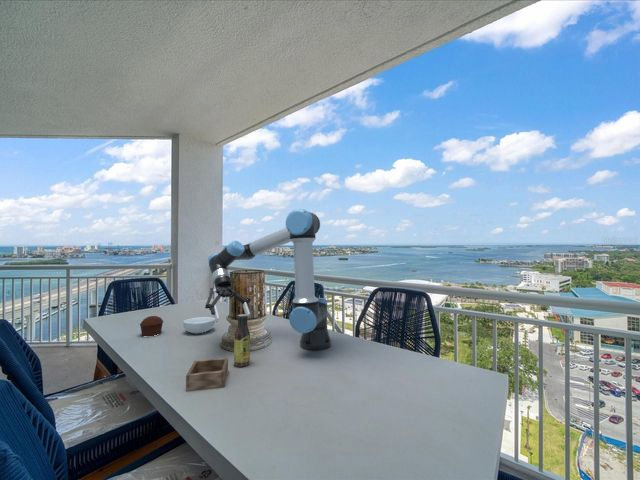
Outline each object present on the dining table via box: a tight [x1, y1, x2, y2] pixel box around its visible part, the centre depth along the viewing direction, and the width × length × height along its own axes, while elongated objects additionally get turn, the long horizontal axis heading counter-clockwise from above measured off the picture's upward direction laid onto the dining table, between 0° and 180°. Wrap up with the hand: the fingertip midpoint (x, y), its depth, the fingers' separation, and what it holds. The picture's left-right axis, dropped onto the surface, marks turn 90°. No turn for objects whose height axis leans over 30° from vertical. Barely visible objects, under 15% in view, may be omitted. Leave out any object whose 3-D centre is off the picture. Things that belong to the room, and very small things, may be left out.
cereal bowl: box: [182, 316, 216, 335], centre depth 162 cm, size 17×17×7 cm
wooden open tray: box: [185, 357, 229, 392], centre depth 101 cm, size 12×13×5 cm
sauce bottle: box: [233, 313, 251, 368], centre depth 115 cm, size 6×6×20 cm
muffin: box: [139, 315, 164, 337], centre depth 157 cm, size 12×11×10 cm
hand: (233, 318), depth 121 cm, fingers open, 13 cm apart
